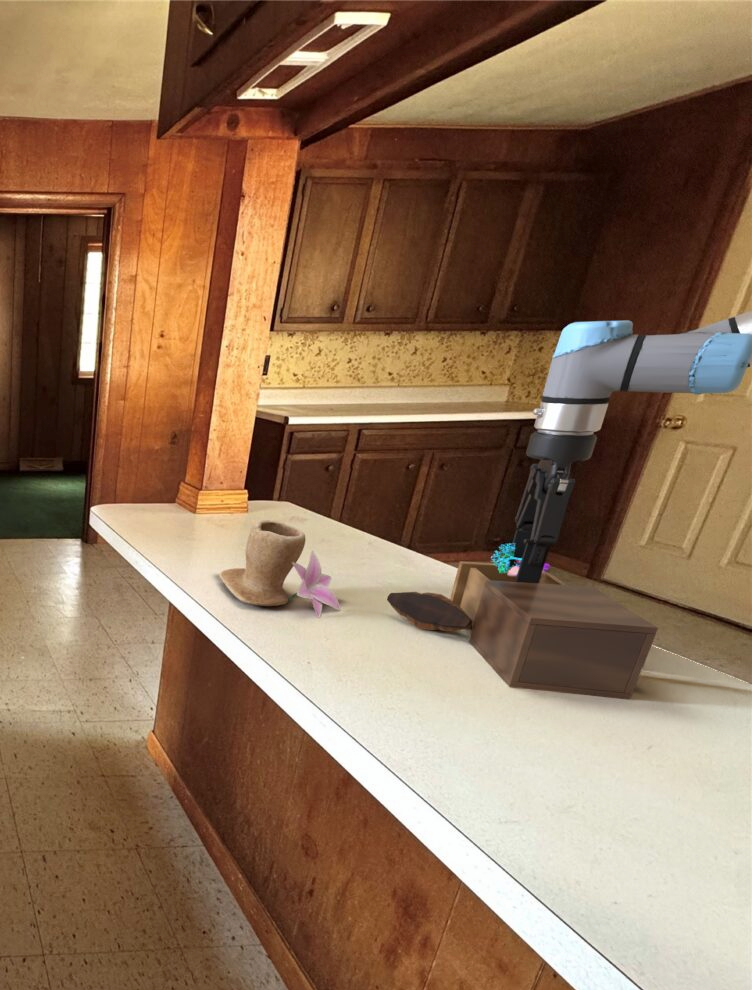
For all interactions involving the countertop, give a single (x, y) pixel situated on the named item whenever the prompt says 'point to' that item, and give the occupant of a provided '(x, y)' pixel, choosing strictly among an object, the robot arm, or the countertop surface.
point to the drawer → (482, 584)
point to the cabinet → (561, 638)
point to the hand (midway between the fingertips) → (521, 575)
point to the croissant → (430, 611)
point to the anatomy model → (505, 561)
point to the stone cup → (266, 564)
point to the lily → (315, 585)
